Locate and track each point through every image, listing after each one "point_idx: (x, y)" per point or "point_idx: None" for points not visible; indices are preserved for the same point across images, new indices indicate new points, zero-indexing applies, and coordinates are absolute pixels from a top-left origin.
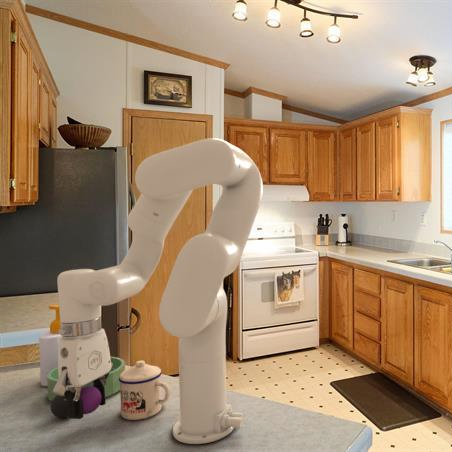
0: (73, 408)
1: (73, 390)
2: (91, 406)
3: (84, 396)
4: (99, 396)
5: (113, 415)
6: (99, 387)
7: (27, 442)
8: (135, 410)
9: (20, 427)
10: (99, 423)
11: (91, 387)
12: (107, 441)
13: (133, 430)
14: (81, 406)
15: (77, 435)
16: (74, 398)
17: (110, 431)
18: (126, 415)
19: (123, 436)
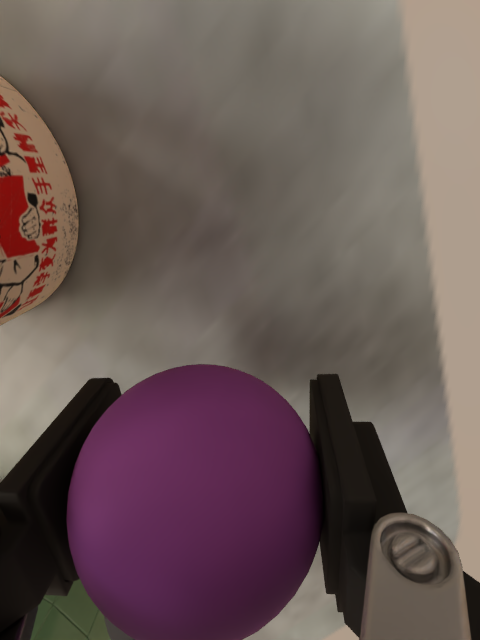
0: (387, 473)
1: (67, 634)
2: (253, 383)
3: (282, 515)
4: (139, 412)
5: (82, 330)
6: (31, 524)
7: (422, 503)
8: (9, 125)
9: (316, 598)
10: (178, 335)
11: (132, 581)
12: (341, 100)
13: (163, 28)
14: (341, 436)
15: (319, 347)
16: (458, 565)
17: (228, 195)
18: (67, 210)
19: (255, 32)
